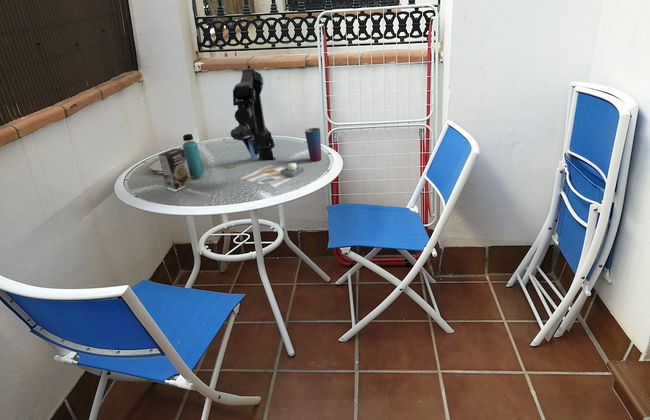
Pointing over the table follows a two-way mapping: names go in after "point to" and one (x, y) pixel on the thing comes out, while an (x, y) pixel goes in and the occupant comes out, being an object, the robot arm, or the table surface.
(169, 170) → the coffee box
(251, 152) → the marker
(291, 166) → the button
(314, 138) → the cup
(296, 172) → the button housing
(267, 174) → the beige flat board
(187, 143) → the beverage bottle
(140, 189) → the table surface
